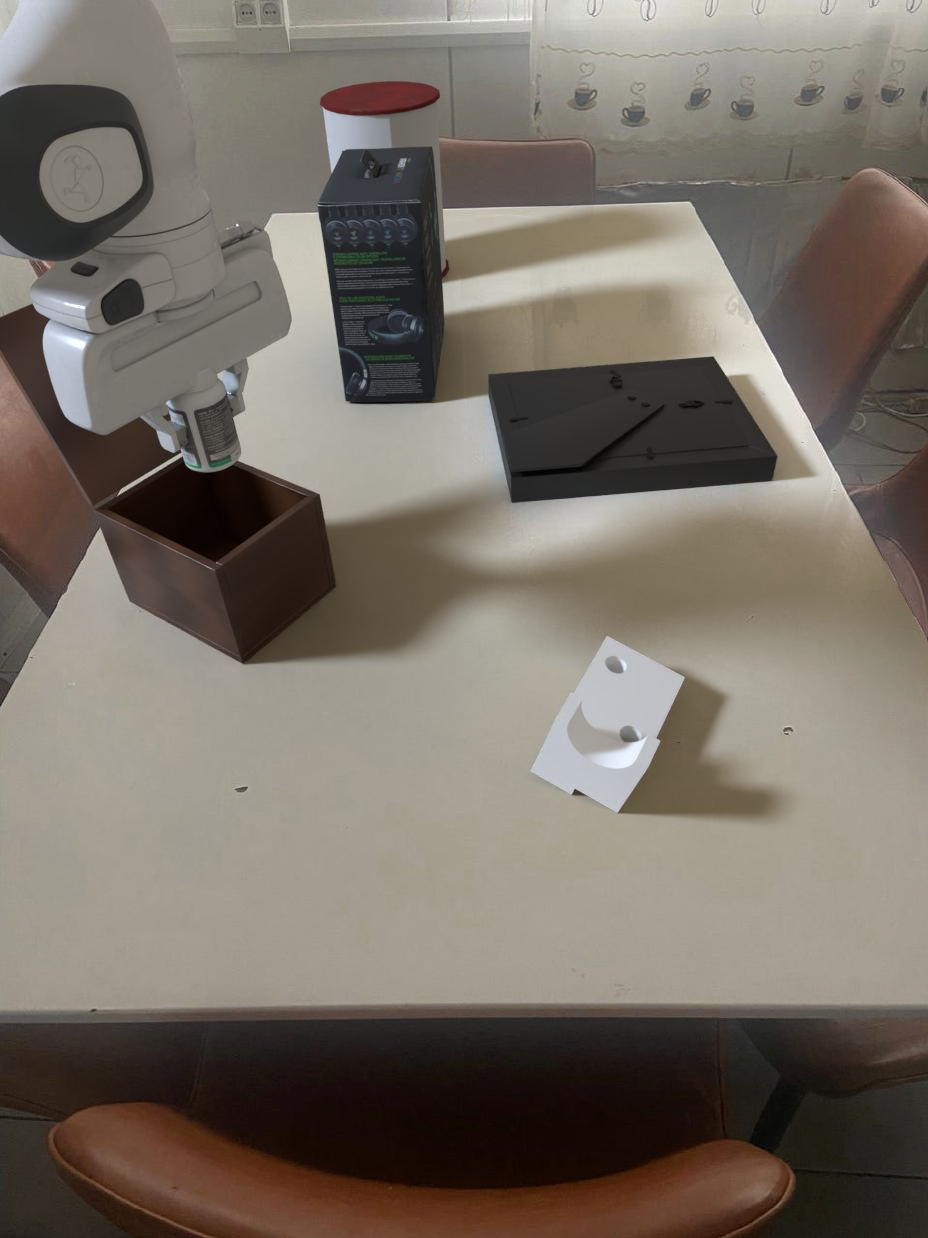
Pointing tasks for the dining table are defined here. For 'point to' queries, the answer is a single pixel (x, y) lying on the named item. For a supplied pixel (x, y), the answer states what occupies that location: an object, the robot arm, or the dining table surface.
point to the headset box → (385, 272)
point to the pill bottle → (206, 424)
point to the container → (385, 125)
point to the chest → (220, 552)
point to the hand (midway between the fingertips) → (204, 430)
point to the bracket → (609, 726)
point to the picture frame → (625, 429)
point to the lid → (86, 454)
